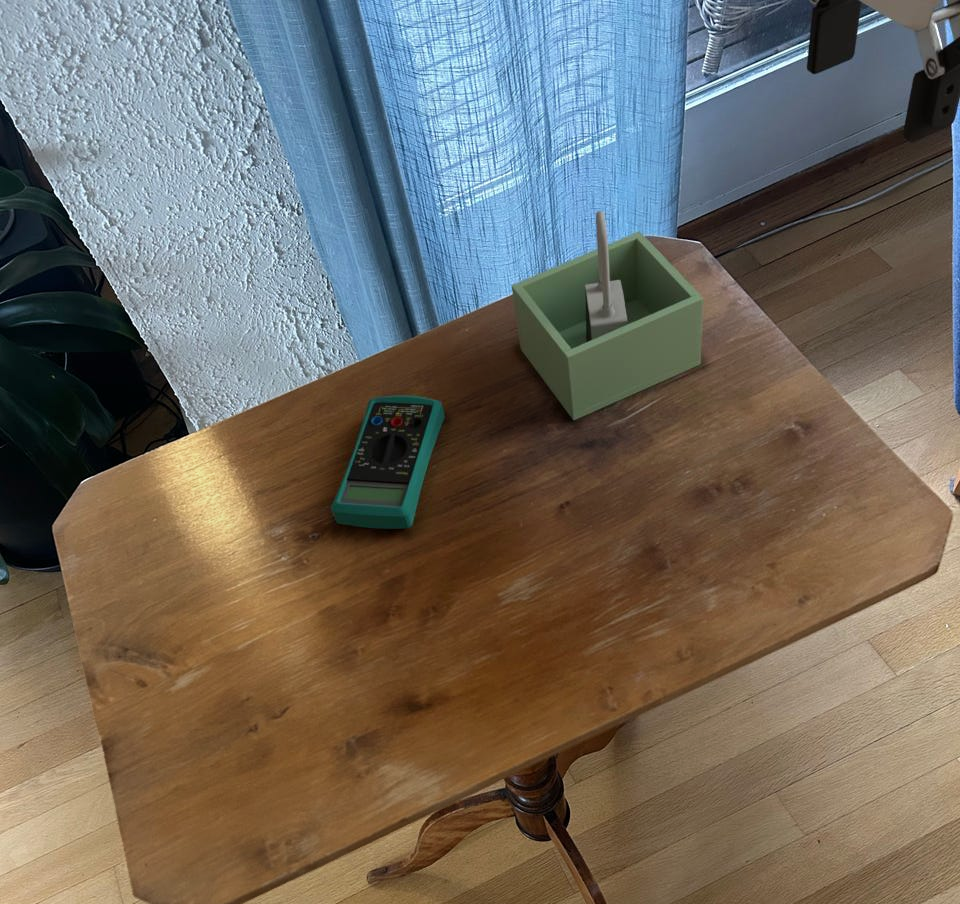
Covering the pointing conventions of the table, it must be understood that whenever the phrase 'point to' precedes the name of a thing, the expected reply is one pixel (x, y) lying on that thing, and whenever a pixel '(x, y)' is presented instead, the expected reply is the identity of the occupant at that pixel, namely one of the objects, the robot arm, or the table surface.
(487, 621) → the table surface
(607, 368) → the holder
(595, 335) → the padlock
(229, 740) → the table surface
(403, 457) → the digital multimeter
